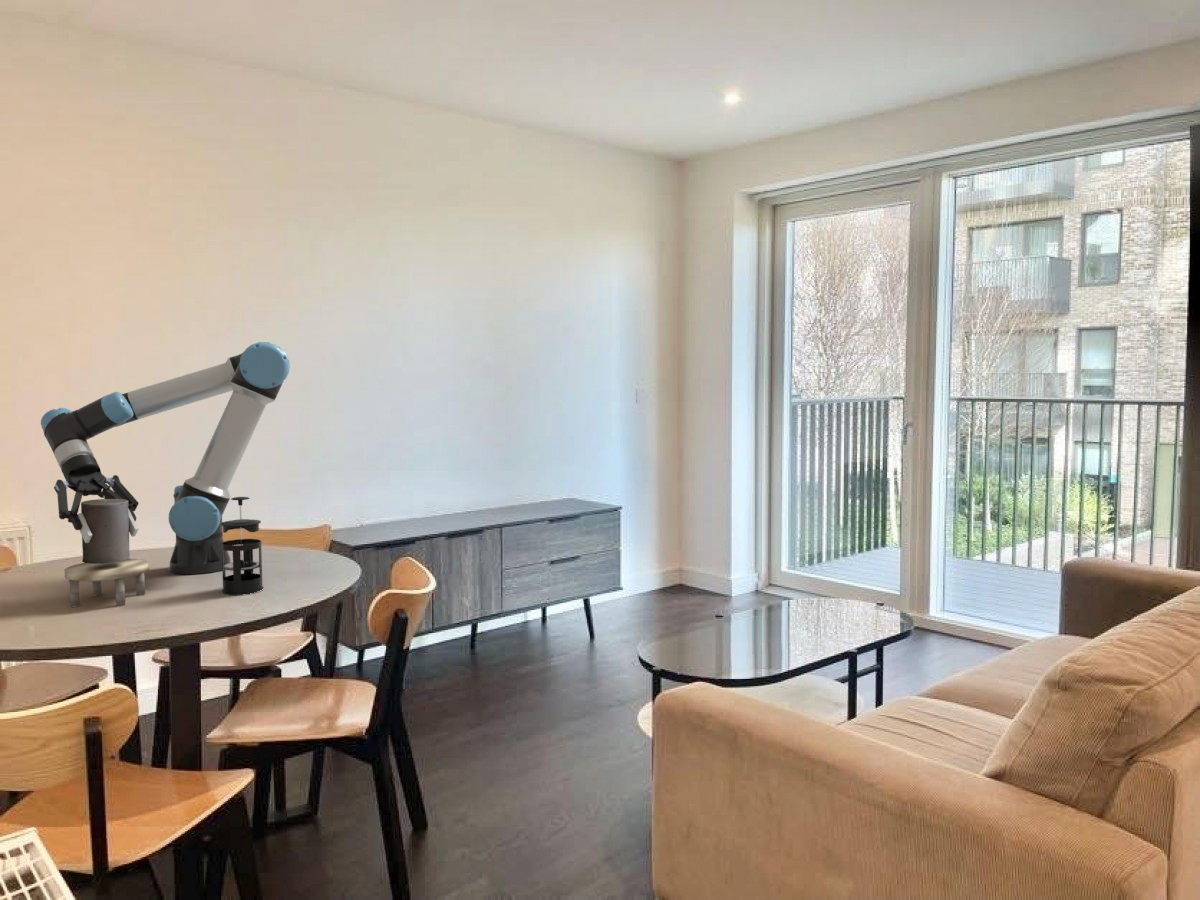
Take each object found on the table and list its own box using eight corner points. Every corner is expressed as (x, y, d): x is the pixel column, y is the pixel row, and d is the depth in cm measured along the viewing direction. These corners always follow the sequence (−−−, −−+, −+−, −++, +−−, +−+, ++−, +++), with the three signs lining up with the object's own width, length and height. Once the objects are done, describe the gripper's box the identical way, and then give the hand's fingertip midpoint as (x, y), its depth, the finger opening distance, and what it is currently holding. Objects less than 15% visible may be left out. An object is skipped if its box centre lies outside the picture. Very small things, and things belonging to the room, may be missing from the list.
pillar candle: (73, 563, 197) (71, 498, 196) (97, 555, 207) (95, 492, 206) (116, 564, 197) (114, 499, 196) (138, 555, 207) (137, 493, 206)
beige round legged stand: (162, 590, 212) (160, 558, 211) (129, 608, 195) (127, 573, 194) (89, 591, 211) (88, 559, 210) (50, 610, 194) (48, 574, 193)
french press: (257, 595, 207) (254, 499, 206) (215, 596, 206) (212, 500, 205) (269, 584, 219) (267, 493, 217) (230, 585, 218) (227, 494, 216)
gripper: (120, 470, 219) (155, 539, 211) (21, 477, 201) (55, 553, 193) (130, 450, 215) (165, 519, 207) (30, 456, 197) (64, 532, 189)
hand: (112, 535), depth 200 cm, fingers closed on pillar candle, 9 cm apart
